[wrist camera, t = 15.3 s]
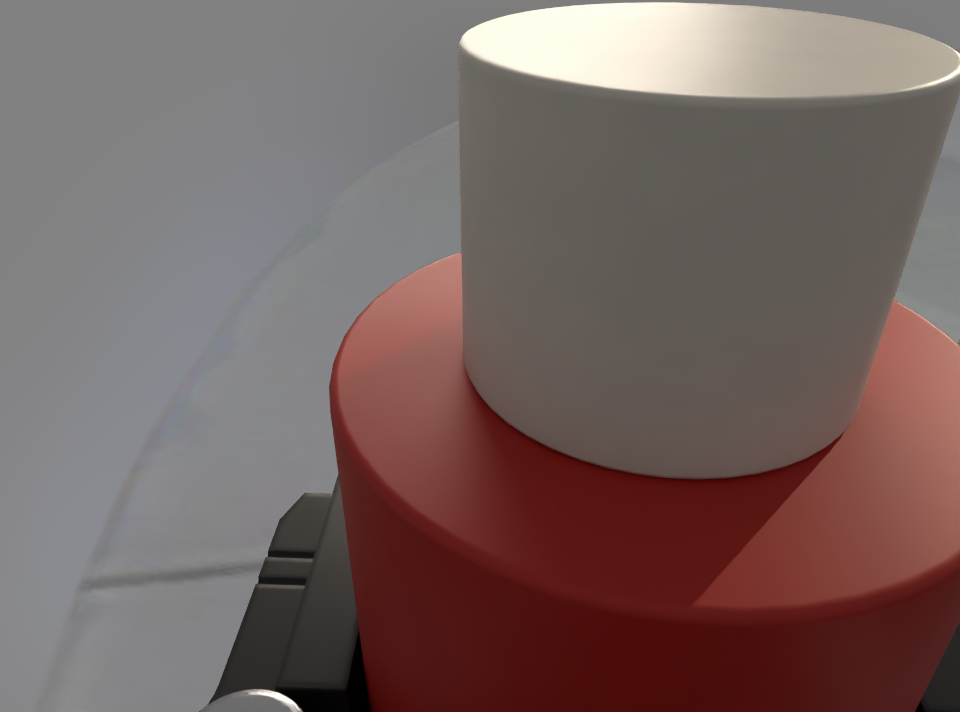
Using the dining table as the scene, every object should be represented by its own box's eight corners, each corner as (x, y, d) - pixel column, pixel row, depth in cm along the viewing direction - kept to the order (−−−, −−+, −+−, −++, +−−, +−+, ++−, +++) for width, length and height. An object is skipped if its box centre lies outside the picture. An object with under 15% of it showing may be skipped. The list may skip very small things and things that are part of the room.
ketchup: (702, 1298, 10) (1507, 274, 2) (347, 1089, 12) (72, 95, 4) (749, 880, 14) (1084, 3, 6) (481, 770, 16) (480, -26, 8)
